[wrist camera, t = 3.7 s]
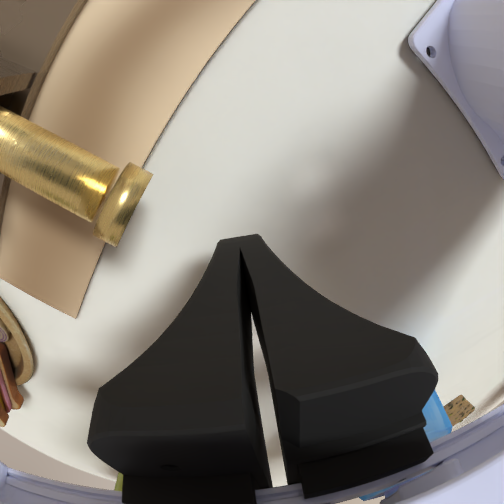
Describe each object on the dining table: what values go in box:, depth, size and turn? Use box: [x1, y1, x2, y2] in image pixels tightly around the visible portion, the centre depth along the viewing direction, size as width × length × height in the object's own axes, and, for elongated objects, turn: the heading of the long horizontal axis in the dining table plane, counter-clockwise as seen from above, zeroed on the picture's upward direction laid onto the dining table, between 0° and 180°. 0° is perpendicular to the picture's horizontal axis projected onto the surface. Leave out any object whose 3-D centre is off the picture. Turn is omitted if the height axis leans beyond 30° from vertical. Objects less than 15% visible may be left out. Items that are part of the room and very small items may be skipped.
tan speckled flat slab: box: [444, 395, 475, 426], centre depth 31 cm, size 12×12×1 cm
